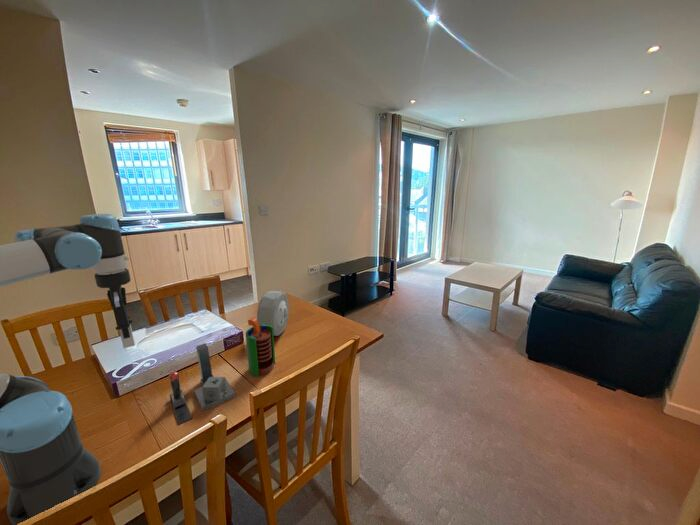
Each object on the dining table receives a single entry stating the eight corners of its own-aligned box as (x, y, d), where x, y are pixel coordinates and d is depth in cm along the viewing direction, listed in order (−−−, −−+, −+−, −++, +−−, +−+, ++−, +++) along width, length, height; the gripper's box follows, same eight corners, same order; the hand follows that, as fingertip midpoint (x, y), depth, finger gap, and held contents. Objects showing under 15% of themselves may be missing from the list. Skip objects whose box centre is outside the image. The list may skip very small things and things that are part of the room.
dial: (280, 345, 127) (276, 302, 121) (254, 343, 129) (250, 300, 123) (295, 323, 146) (293, 285, 141) (273, 321, 148) (270, 284, 143)
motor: (266, 378, 106) (261, 328, 101) (243, 375, 108) (238, 325, 102) (278, 361, 116) (274, 315, 110) (257, 358, 117) (252, 313, 112)
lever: (174, 408, 91) (168, 378, 88) (172, 400, 94) (166, 371, 91) (185, 403, 93) (179, 373, 90) (182, 396, 96) (177, 367, 93)
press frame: (178, 424, 86) (170, 384, 82) (168, 394, 98) (161, 357, 95) (236, 398, 96) (231, 361, 93) (220, 373, 109) (215, 339, 105)
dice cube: (220, 400, 93) (218, 387, 92) (204, 400, 93) (202, 387, 92) (226, 389, 98) (224, 376, 97) (211, 389, 98) (209, 376, 97)
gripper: (128, 274, 79) (145, 351, 85) (128, 263, 89) (143, 333, 95) (91, 279, 74) (112, 360, 81) (95, 267, 84) (114, 340, 91)
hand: (129, 345), depth 88 cm, fingers closed
